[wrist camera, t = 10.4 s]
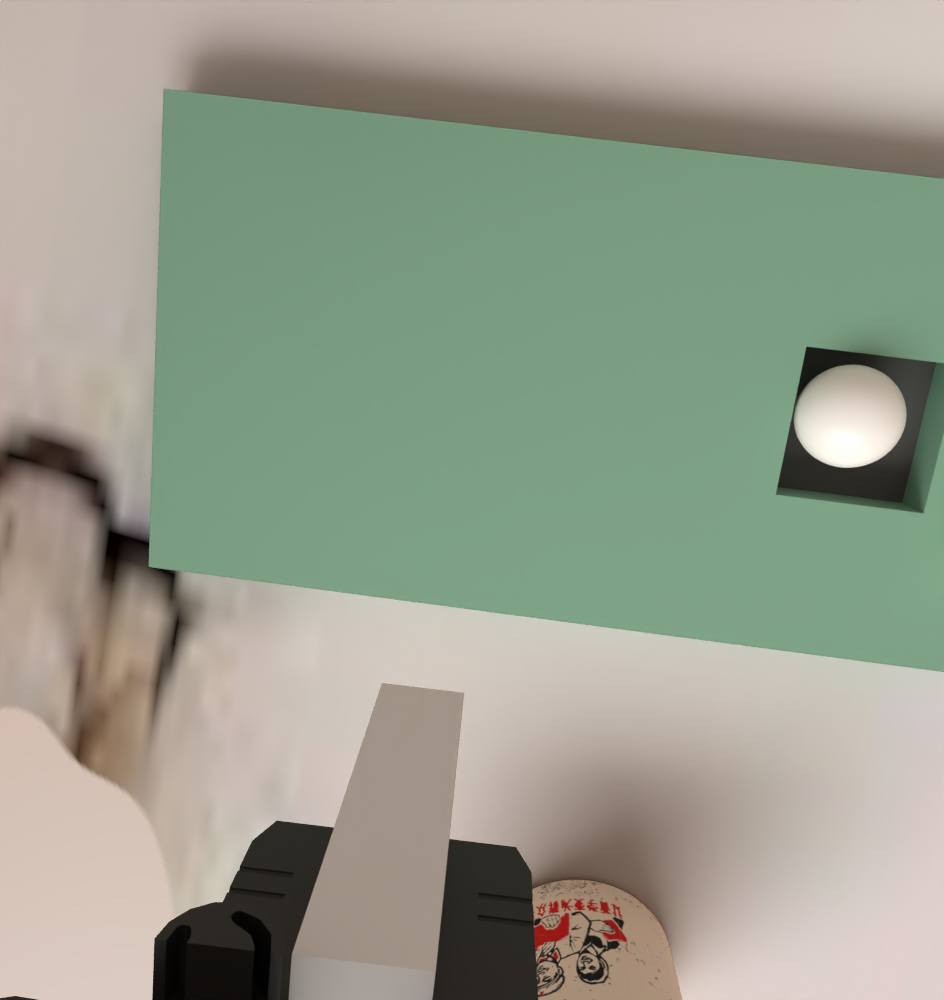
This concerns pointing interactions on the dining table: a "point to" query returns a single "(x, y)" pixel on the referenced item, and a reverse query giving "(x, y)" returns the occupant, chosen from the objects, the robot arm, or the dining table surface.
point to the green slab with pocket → (544, 376)
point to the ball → (850, 416)
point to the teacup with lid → (599, 945)
